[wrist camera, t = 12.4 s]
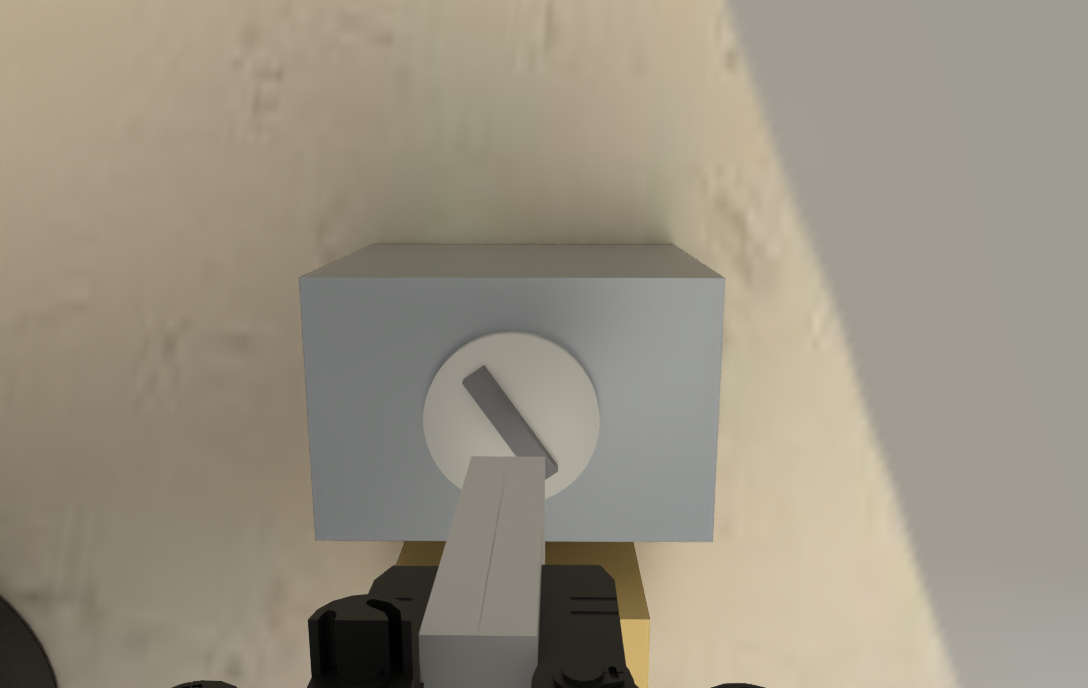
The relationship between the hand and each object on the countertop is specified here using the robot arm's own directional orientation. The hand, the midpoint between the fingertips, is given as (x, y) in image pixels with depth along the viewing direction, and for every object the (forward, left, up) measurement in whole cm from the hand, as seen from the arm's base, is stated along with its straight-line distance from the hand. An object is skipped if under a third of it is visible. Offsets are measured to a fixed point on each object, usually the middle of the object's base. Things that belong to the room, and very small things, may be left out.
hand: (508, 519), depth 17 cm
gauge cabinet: (0, 0, -17) cm, 17 cm away
